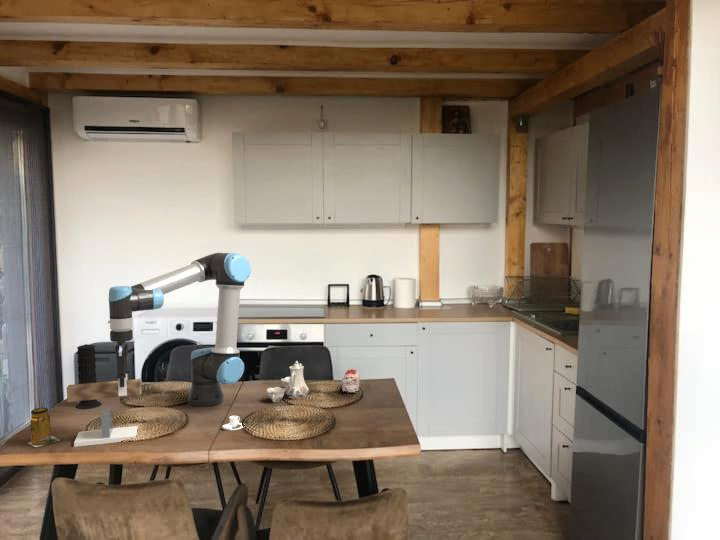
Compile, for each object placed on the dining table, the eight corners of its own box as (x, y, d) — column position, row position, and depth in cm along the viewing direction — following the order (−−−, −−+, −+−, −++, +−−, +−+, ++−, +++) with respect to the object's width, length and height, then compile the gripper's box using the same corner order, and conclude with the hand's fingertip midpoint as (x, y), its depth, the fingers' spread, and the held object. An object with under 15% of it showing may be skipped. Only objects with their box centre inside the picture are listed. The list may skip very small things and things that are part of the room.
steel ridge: (112, 429, 214) (111, 408, 213) (109, 437, 205) (108, 415, 204) (104, 430, 213) (104, 408, 212) (101, 438, 204) (101, 416, 204)
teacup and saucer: (223, 432, 215) (223, 422, 214) (218, 426, 222) (218, 415, 221) (247, 428, 219) (246, 418, 218) (241, 422, 226) (241, 412, 225)
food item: (359, 395, 261) (359, 373, 260) (341, 394, 261) (341, 373, 260) (360, 386, 274) (360, 366, 274) (343, 386, 275) (343, 365, 274)
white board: (138, 429, 217) (137, 425, 217) (136, 440, 207) (136, 435, 207) (79, 435, 211) (79, 431, 211) (74, 446, 201) (74, 442, 201)
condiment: (27, 443, 205) (25, 409, 204) (52, 436, 211) (50, 404, 210) (35, 448, 200) (33, 413, 199) (60, 441, 206) (59, 407, 206)
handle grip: (70, 408, 243) (91, 409, 241) (67, 346, 241) (88, 347, 239) (85, 401, 253) (106, 402, 251) (83, 341, 251) (104, 342, 249)
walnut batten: (141, 392, 213) (140, 378, 213) (140, 395, 209) (139, 381, 209) (70, 398, 207) (69, 384, 207) (67, 401, 203) (66, 387, 203)
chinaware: (282, 390, 274) (278, 355, 273) (317, 388, 272) (313, 353, 271) (264, 408, 247) (259, 370, 246) (302, 406, 244) (297, 367, 243)
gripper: (112, 326, 215) (114, 388, 217) (107, 334, 199) (109, 401, 200) (134, 325, 217) (136, 386, 219) (130, 333, 201) (132, 399, 202)
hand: (123, 393), depth 210 cm, fingers closed on walnut batten, 4 cm apart
